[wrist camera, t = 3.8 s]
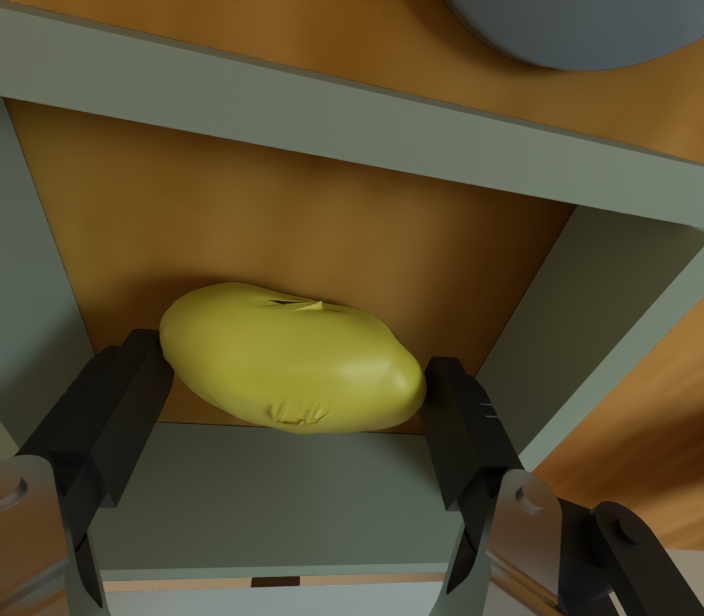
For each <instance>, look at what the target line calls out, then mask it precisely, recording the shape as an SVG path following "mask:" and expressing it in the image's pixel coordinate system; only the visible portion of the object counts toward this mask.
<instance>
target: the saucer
mask: <svg viewBox="0 0 704 616" xmlns="http://www.w3.org/2000/svg"><path fill="white" fill-rule="evenodd" d="M443 1H444V3H445V4H446V5H447V6H448V8H449V9H450V10H451V11H452V13H453V14H454V15H455V16H456V17H457V19H458V20H459V21H460V22H461V23H462V25H463V26H464V27H465V28H467V29H468V30H469V31H470V32H471V33H472V34H474V35H475V36H476V37H477V38H478V39H479V40H480V41H482V42H483V43H484V44H485V45H487V46H489V47H490V48H492V49H494V50H495V51H497V52H499V53H501V54H502V55H504V56H506V57H508V58H511V59H513V60H516V61H519V62H521V63H524V64H527V65H530V66H536V67H542V68H548V69H554V70H607V69H613V68H619V67H625V66H631V65H635V64H638V63H641V62H645V61H648V60H651V59H654V58H657V57H660V56H663V55H666V54H668V53H670V52H672V51H675V50H677V49H679V48H681V47H684V46H686V45H688V44H690V43H692V42H695V41H697V40H698V39H700V38H702V37H704V0H443Z"/></svg>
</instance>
